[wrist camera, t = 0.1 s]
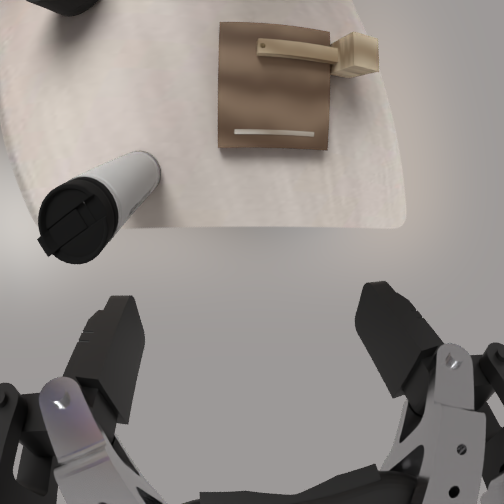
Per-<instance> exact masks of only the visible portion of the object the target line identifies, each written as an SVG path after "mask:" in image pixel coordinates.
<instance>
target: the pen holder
mask: <svg viewBox="0 0 504 504" xmlns="http://www.w3.org/2000/svg"><path fill="white" fill-rule="evenodd" d="M26 1H28V2H31V3H33V4H36V5H39V6H41V7H44V8H46V9H49V10H51V11H53V12H56V13H59V14H61V15H64V16H74V15H77V14H80V13H82V12H84V11H86V10H87V9H89V8H90V7H92V6H93V5H94V4H95V3H96V2H97V1H98V0H26Z"/></svg>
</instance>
